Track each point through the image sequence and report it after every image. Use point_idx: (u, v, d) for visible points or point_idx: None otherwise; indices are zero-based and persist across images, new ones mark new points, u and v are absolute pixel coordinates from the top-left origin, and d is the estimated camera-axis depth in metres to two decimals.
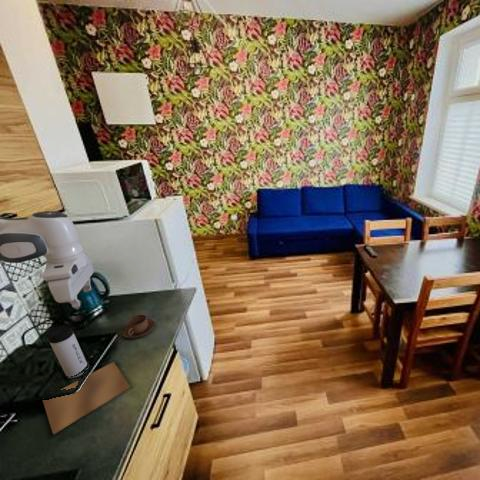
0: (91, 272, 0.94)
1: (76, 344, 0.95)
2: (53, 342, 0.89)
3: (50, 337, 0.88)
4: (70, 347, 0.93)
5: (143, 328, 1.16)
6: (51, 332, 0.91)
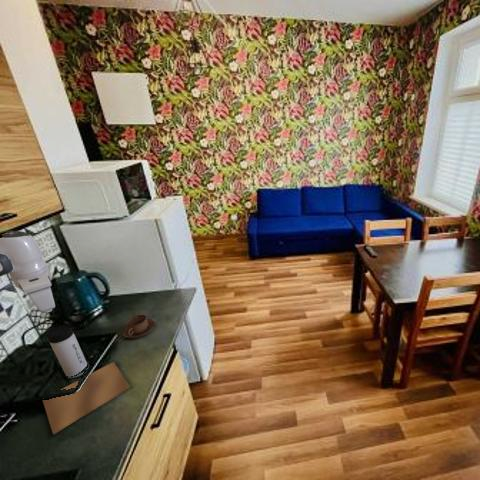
0: None
1: (76, 344, 0.95)
2: (53, 342, 0.89)
3: (50, 337, 0.88)
4: (70, 347, 0.93)
5: (143, 328, 1.16)
6: (51, 332, 0.91)
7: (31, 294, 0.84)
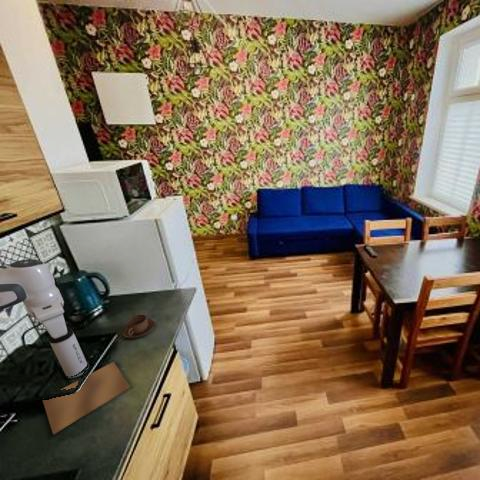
0: None
1: (76, 344, 0.95)
2: (53, 342, 0.89)
3: (50, 337, 0.88)
4: (70, 347, 0.93)
5: (143, 328, 1.16)
6: None
7: (44, 322, 0.85)
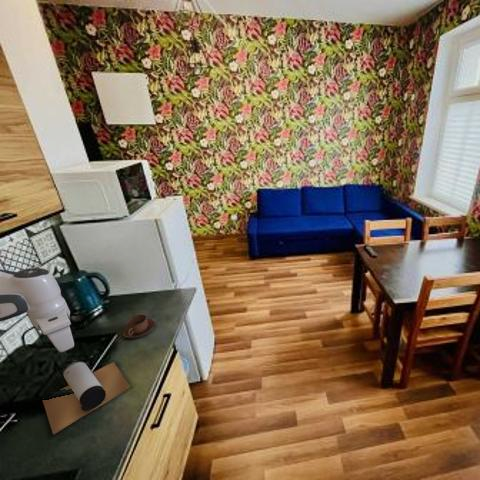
0: None
1: None
2: None
3: None
4: None
5: (143, 328, 1.16)
6: (86, 402, 0.83)
7: (50, 335, 0.81)
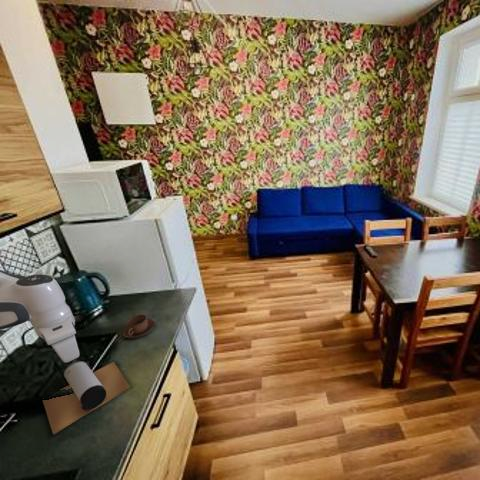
0: None
1: None
2: None
3: None
4: None
5: (143, 328, 1.16)
6: (87, 401, 0.83)
7: (55, 345, 0.77)
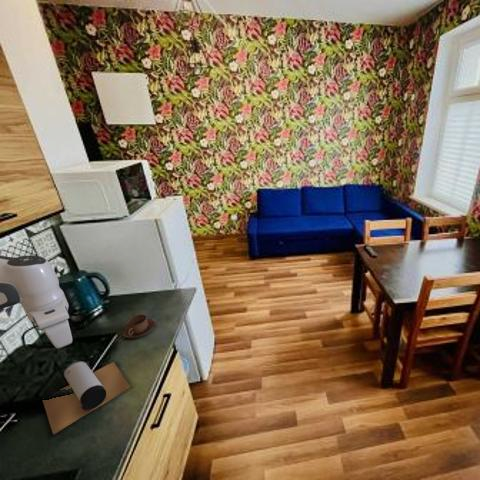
0: None
1: None
2: None
3: None
4: None
5: (143, 328, 1.16)
6: (87, 401, 0.83)
7: (47, 329, 0.73)
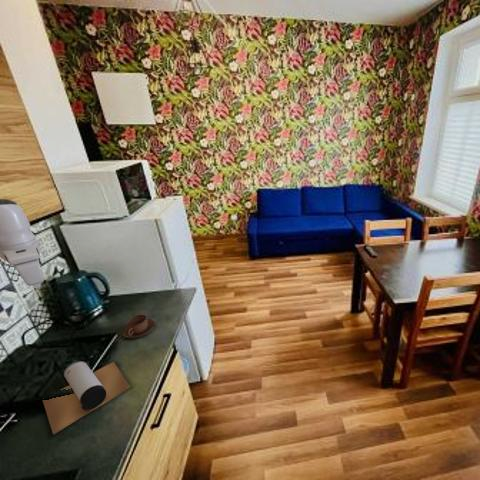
0: None
1: None
2: None
3: None
4: None
5: (143, 328, 1.16)
6: (87, 401, 0.83)
7: (17, 266, 0.79)
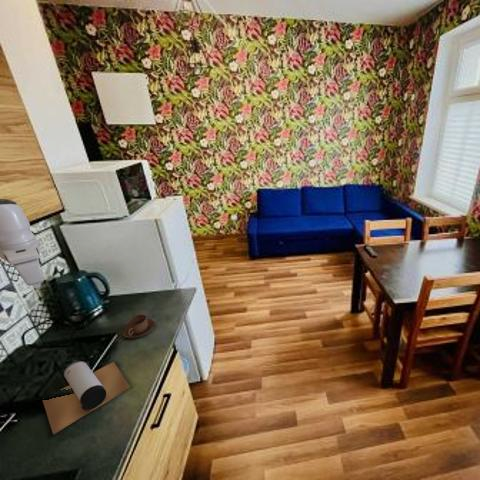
0: None
1: None
2: None
3: None
4: None
5: (143, 328, 1.16)
6: (87, 401, 0.83)
7: (17, 265, 0.79)
